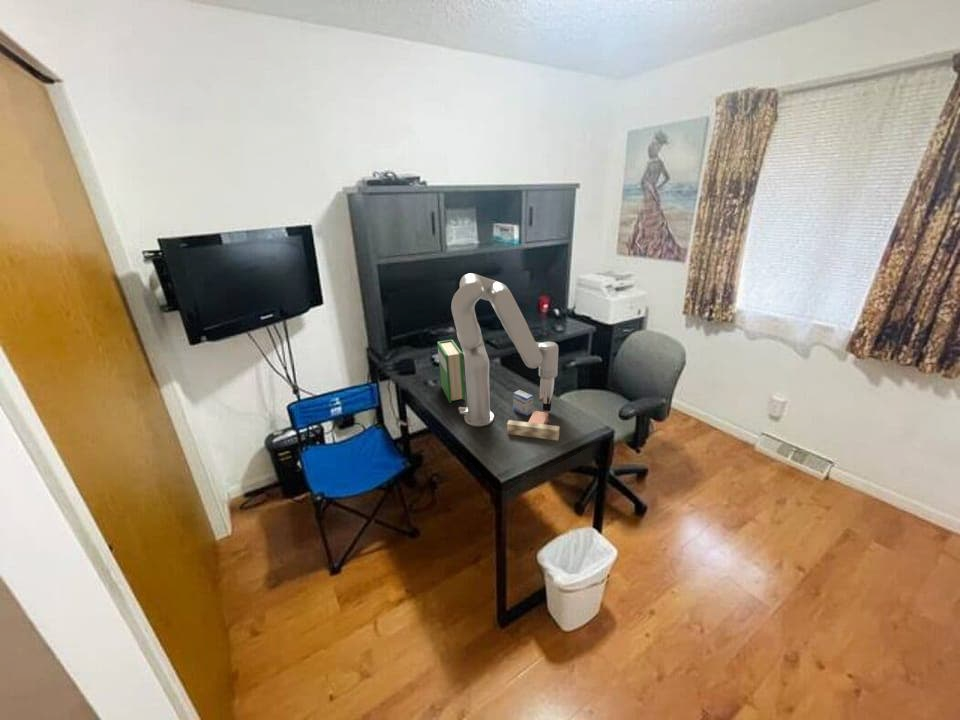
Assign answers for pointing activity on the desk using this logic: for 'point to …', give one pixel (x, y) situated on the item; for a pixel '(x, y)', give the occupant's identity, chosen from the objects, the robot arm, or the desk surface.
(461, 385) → the hardback book
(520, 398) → the medicine box
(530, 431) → the board
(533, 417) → the block
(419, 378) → the desk surface
